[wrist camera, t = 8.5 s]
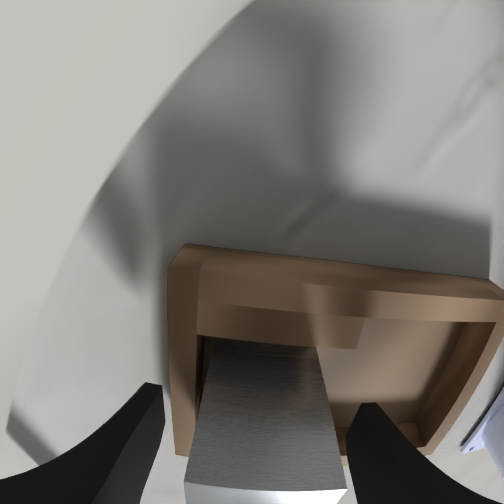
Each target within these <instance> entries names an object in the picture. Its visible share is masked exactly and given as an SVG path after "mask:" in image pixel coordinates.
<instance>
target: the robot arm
mask: <svg viewBox="0 0 504 504" xmlns="http://www.w3.org/2000/svg"><path fill="white" fill-rule="evenodd" d="M164 425H165V412H164V401H163V390H162V385H157V384H152V383H147V382H146V383H144V384H143V385H142V386H141V387H140V388H139V389H138V390H137V392H136V393H135V394H134V395H133V396H132V397H131V398H130V399H129V400H128V401H127V402H126V403H125V404H124V405H123V406H122V407H121V408H120V409H119V410H118V411H117V412H116V413H115V414H114V415H113V416H112V417H111V418H110V419H109V420H108V421H107V422H106V423H104V424H103V425H102V426H101V427H100V428H99V429H97V430H96V431H95V432H94V433H93V434H91V435H90V436H89V437H87V438H86V439H85V440H83V441H82V442H81V443H79V444H78V445H76V446H75V447H73V448H72V449H70V450H69V451H67V452H65V453H64V454H62V455H60V456H59V457H57V458H55V459H53V460H51V461H49V462H47V463H45V464H43V465H40V466H38V467H36V468H34V469H31V470H29V471H26V472H24V473H21V474H18V475H14V476H11V477H8V478H4V479H1V480H0V504H140V499H141V496H142V493H143V489H144V487H145V484H146V481H147V479H148V476H149V473H150V470H151V468H152V465H153V462H154V460H155V457H156V454H157V452H158V449H159V446H160V443H161V439H162V434H163V430H164ZM345 441H346V452H347V460H348V464H349V469H350V473H351V477H352V481H353V486H354V490H355V494H356V499H357V503H358V504H502V503H499V502H496V501H494V500H491V499H488V498H486V497H484V496H481V495H479V494H477V493H475V492H473V491H471V490H470V489H468V488H466V487H464V486H463V485H461V484H460V483H458V482H456V481H455V480H453V479H452V478H450V477H449V476H448V475H446V474H445V473H444V472H442V471H441V470H440V469H439V468H437V467H436V466H435V465H434V464H433V463H431V462H430V461H429V460H428V459H427V458H426V457H425V456H424V455H423V454H422V453H421V452H420V451H419V450H418V449H417V448H416V447H415V446H414V445H413V444H412V443H411V442H410V441H409V440H408V439H407V438H406V437H405V435H404V434H403V433H402V432H401V431H400V430H399V429H398V428H397V426H396V425H395V424H394V423H393V422H392V420H391V419H390V418H389V417H388V416H387V415H386V413H385V412H384V411H383V410H382V409H381V407H380V406H379V405H378V404H377V403H376V402H369V403H361V405H360V407H359V409H358V411H357V413H356V415H355V417H354V419H353V421H352V423H351V425H350V427H349V429H348V431H347V433H346V435H345ZM484 447H486V448H487V450H488V452H489V454H490V456H491V458H492V459H493V461H494V463H495V465H496V467H497V469H498V471H499V473H500V475H501V477H502V479H503V481H504V387H503V389H502V390H501V392H500V394H499V395H498V397H497V398H496V400H495V402H494V403H493V405H492V406H491V408H490V409H489V411H488V412H487V414H486V415H485V417H484V418H483V419H482V421H481V422H480V424H479V425H478V427H477V428H476V429H475V431H474V432H473V433H472V435H471V436H470V437H469V439H468V440H467V441H466V442H465V444H464V445H463V446H462V448H461V449H460V451H461V453H462V454H464V453H468V452H471V451H475V450H478V449H481V448H484Z"/></svg>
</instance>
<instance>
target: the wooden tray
mask: <svg viewBox="0 0 504 504" xmlns="http://www.w3.org/2000/svg"><path fill="white" fill-rule="evenodd" d="M167 315H168V356H169V378H170V395H171V410H172V422H173V434H174V444H175V454H176V455H180V456H186V457H189V454H190V450H191V445H192V441H193V436H194V431H195V427H196V422H197V418H198V413H199V408H200V404H201V399H202V395H203V390H204V386H205V382H206V377H207V373H208V368H209V364H210V359H211V355H212V351H213V346H214V342H215V338H216V337H220V338H227V339H236V340H244V341H253V342H263V343H273V344H284V345H296V346H309V347H316V349H317V353H318V357H319V361H320V366H321V370H322V374H323V378H324V383H325V387H326V391H327V396H328V400H329V405H330V409H331V414H332V418H333V423H334V427H335V432H336V437H337V442H338V446H339V451H340V456H341V461H342V466H345V465H349V464H348V460H347V452H346V441H345V435H346V433H347V431H348V429H349V427H350V425H351V423H352V421H353V419H354V417H355V415H356V413H357V411H358V409H359V407H360V405H361V403H369V402H376V403H377V404H378V405H379V406H380V407H381V409H382V410H383V411H384V412H385V413H386V415H387V416H388V417H389V418H390V419H391V420H392V422H393V423H394V424H395V425H396V426H397V428H398V429H399V430H400V431H401V432H402V433H403V434H404V435H405V437H406V438H407V439H408V440H409V441H410V442H411V443H412V444H413V445H414V446H415V447H416V448H417V449H418V450H419V451H420V452H421V453H422V454H423V455H424V456H425V455H430V454H432V453H433V451H434V450H435V449H436V447H437V446H438V445H439V444H440V442H441V441H442V439H443V438H444V437H445V435H446V434H447V433H448V431H449V430H450V428H451V427H452V426H453V424H454V423H455V421H456V420H457V418H458V417H459V415H460V414H461V412H462V411H463V409H464V408H465V406H466V404H467V403H468V401H469V400H470V398H471V396H472V395H473V393H474V391H475V390H476V388H477V386H478V385H479V383H480V381H481V379H482V377H483V376H484V374H485V372H486V370H487V368H488V366H489V365H490V363H491V361H492V359H493V357H494V355H495V353H496V351H497V349H498V347H499V345H500V342H501V340H502V338H503V336H504V290H502V289H501V288H500V287H498V286H497V285H496V284H494V283H493V282H492V281H490V280H487V279H478V278H470V277H462V276H453V275H445V274H437V273H428V272H420V271H411V270H403V269H395V268H386V267H378V266H369V265H361V264H353V263H344V262H336V261H327V260H319V259H310V258H302V257H294V256H285V255H277V254H268V253H260V252H251V251H243V250H235V249H226V248H218V247H209V246H201V245H192V244H185V245H184V246H183V247H182V248H181V250H180V251H179V252H178V254H177V255H176V256H175V258H174V259H173V260H172V262H171V263H170V264H169V266H168V278H167Z"/></svg>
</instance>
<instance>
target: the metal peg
mask: <svg viewBox="0 0 504 504" xmlns="http://www.w3.org/2000/svg"><path fill="white" fill-rule="evenodd" d="M184 489H185V498H186V504H336V503H337V502H338V500H339V499H340V498H341V496H342V495H343V494H344V493H345V491H346V490H347V486H346V481H345V476H344V471H343V466H342V461H341V456H340V451H339V446H338V442H337V437H336V432H335V427H334V423H333V418H332V414H331V409H330V405H329V400H328V396H327V391H326V387H325V383H324V378H323V374H322V370H321V366H320V361H319V357H318V353H317V349H316V347H309V346H296V345H284V344H273V343H263V342H253V341H244V340H236V339H227V338H220V337H216V338H215V342H214V346H213V351H212V355H211V359H210V364H209V368H208V373H207V377H206V382H205V386H204V390H203V395H202V399H201V404H200V408H199V413H198V418H197V422H196V427H195V431H194V436H193V441H192V445H191V450H190V454H189V459H188V464H187V469H186V473H185V478H184Z"/></svg>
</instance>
